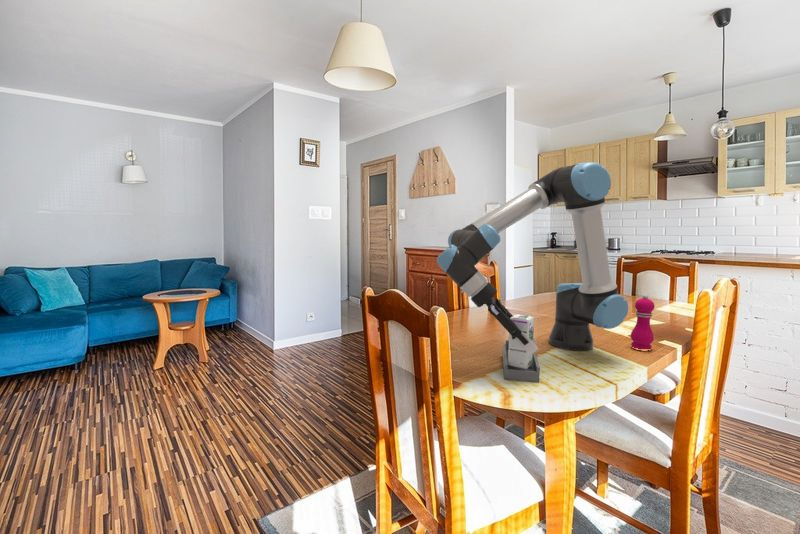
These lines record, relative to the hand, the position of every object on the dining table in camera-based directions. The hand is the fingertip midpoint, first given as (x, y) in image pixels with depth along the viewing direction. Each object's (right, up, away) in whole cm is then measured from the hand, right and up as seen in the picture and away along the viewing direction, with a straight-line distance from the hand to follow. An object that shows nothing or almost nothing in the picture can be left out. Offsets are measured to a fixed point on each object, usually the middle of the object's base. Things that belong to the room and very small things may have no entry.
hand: (533, 347), depth 119 cm
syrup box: (-4, -5, +1) cm, 7 cm away
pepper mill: (+48, -6, +28) cm, 56 cm away
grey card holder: (-2, -8, +7) cm, 10 cm away
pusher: (-2, -7, +9) cm, 11 cm away
